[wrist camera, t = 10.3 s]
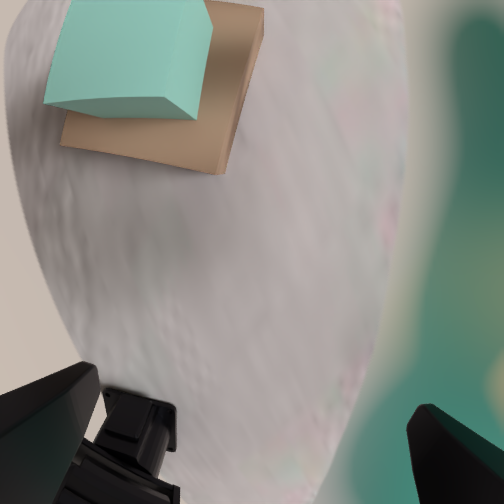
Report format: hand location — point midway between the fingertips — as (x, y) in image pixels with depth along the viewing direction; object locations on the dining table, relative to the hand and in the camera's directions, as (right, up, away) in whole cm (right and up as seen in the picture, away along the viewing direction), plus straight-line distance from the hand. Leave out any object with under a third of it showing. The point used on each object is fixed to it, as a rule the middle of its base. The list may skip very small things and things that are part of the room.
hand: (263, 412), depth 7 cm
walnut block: (-5, +14, +9) cm, 17 cm away
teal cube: (-5, +13, +5) cm, 15 cm away
